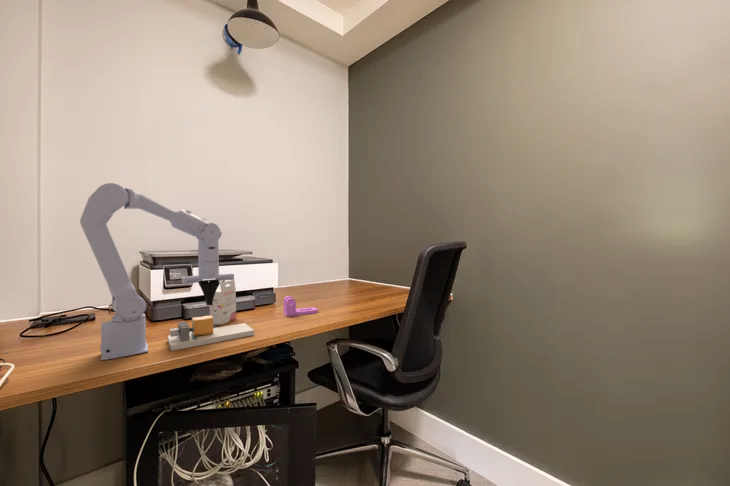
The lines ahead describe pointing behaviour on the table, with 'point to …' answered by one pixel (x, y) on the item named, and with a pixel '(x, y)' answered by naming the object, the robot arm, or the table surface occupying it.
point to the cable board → (185, 338)
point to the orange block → (202, 325)
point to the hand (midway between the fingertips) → (209, 304)
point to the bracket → (291, 308)
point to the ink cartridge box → (224, 303)
